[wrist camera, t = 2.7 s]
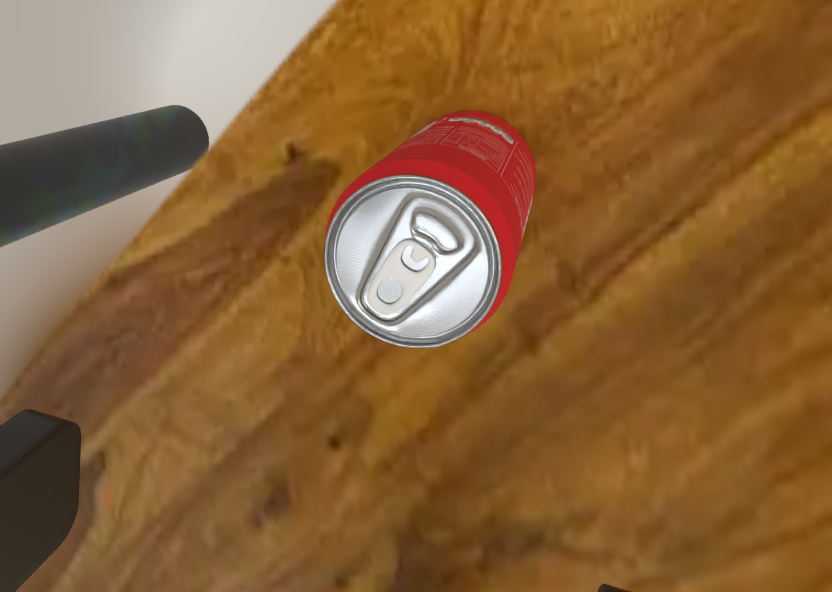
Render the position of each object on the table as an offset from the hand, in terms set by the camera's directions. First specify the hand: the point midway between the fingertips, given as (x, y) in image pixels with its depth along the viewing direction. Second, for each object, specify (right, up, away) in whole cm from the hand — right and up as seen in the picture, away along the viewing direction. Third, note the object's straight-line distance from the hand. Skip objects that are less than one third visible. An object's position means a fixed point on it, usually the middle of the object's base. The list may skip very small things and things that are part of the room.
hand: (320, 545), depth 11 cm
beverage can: (+4, +9, +20) cm, 22 cm away
